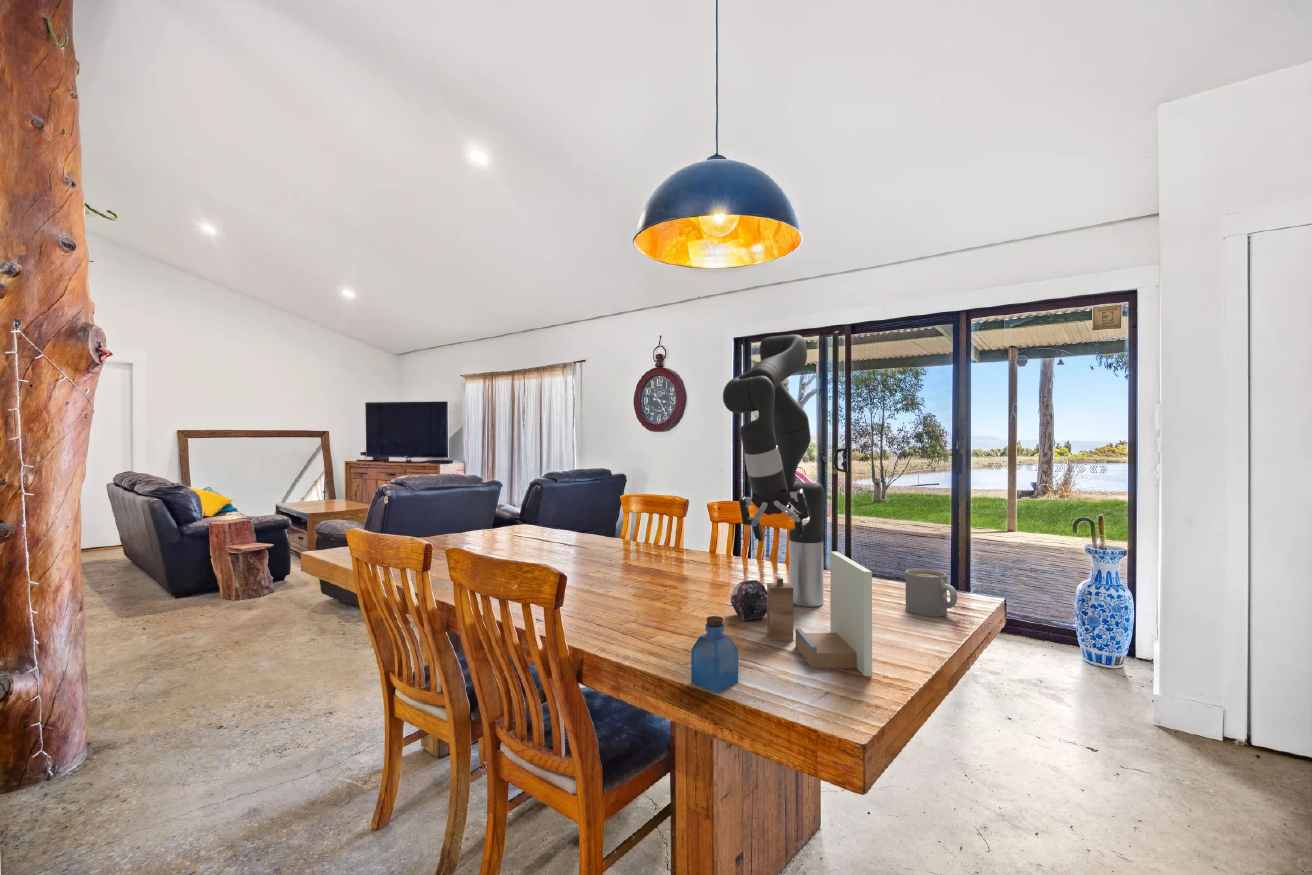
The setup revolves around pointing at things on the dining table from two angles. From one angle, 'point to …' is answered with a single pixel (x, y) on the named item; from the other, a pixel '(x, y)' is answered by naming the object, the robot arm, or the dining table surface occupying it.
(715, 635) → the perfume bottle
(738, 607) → the mineral specimen
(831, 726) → the dining table surface
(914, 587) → the coffee mug
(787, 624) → the knob board
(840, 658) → the cleat board
